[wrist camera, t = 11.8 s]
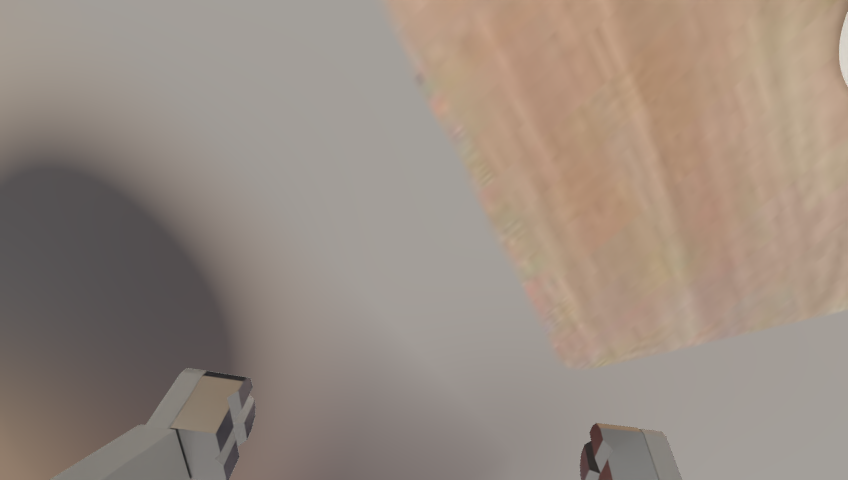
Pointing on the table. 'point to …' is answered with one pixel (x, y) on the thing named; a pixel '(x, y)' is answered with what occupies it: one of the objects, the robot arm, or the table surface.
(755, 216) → the table surface
